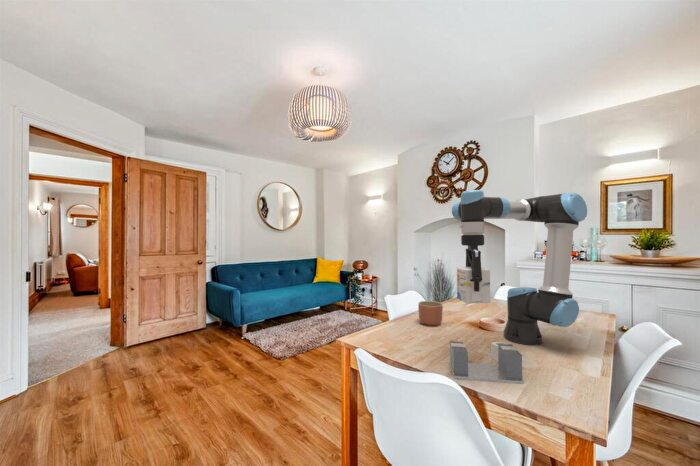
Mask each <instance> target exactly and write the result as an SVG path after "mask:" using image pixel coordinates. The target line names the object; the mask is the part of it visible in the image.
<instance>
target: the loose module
mask: <svg viewBox="0 0 700 466" xmlns="http://www.w3.org/2000/svg"><path fill="white" fill-rule="evenodd" d="M498 344H507V343H505V342H504V341H495V342H490V358H491V359H492V360H493V361H495V362H496V363H498Z"/></svg>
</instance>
